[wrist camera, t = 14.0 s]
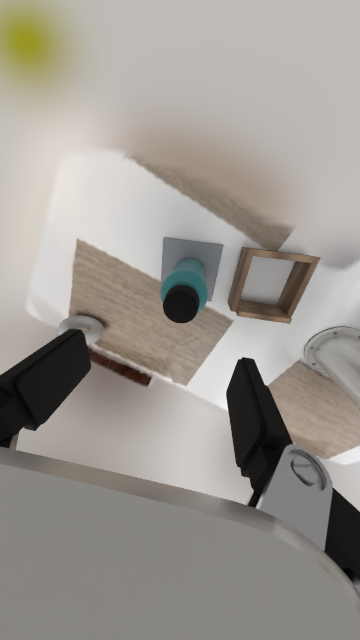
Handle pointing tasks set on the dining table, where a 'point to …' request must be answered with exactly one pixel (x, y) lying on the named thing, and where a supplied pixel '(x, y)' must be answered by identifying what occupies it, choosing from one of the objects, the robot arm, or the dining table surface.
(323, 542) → the robot arm
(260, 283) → the dining table surface
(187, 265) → the beverage bottle
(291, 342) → the dining table surface
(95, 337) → the donut
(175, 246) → the slate mat
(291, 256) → the brown wooden open box
